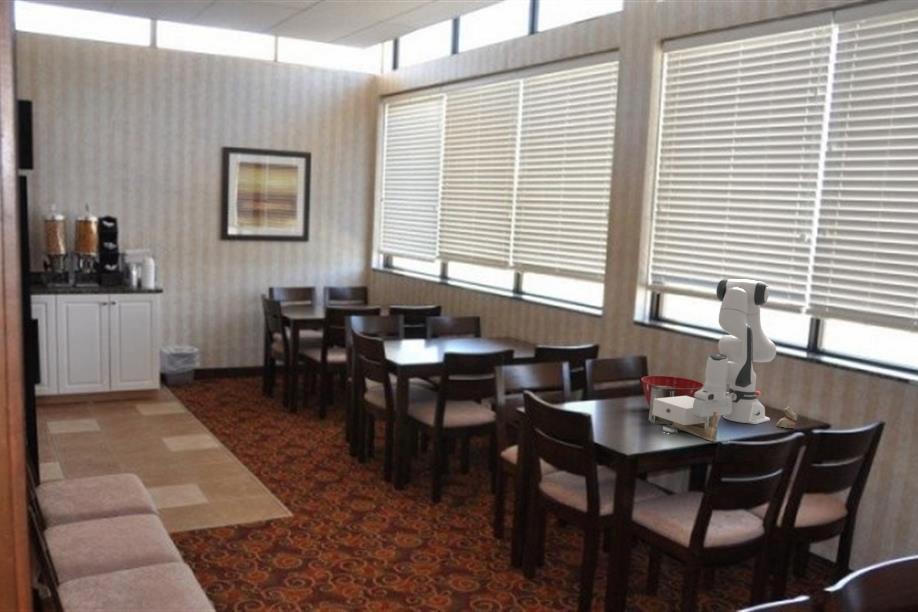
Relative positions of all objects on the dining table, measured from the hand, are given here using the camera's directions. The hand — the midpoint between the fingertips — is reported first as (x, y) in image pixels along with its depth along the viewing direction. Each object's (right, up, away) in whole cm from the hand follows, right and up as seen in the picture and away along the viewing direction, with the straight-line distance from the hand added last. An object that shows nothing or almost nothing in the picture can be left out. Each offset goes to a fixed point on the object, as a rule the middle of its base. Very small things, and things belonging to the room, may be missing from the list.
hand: (710, 426), depth 338 cm
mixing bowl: (-6, -1, +44) cm, 45 cm away
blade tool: (-5, -4, +8) cm, 10 cm away
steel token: (-15, -4, +9) cm, 18 cm away
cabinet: (-8, -4, +12) cm, 15 cm away
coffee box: (-14, -2, +26) cm, 30 cm away
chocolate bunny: (+44, -6, +33) cm, 55 cm away
